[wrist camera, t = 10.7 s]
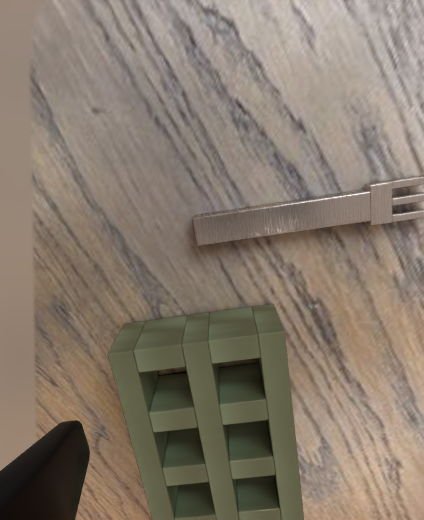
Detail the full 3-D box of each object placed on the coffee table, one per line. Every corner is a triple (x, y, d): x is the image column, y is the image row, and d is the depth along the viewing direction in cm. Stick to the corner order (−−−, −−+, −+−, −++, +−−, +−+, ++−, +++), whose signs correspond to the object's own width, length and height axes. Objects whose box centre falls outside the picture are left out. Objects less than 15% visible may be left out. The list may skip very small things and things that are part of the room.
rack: (164, 487, 25) (156, 537, 22) (123, 323, 22) (106, 353, 18) (292, 473, 25) (304, 523, 21) (274, 303, 21) (284, 331, 18)
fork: (197, 251, 19) (432, 217, 18) (191, 212, 19) (433, 175, 18) (198, 247, 20) (421, 214, 19) (192, 209, 20) (422, 174, 19)
